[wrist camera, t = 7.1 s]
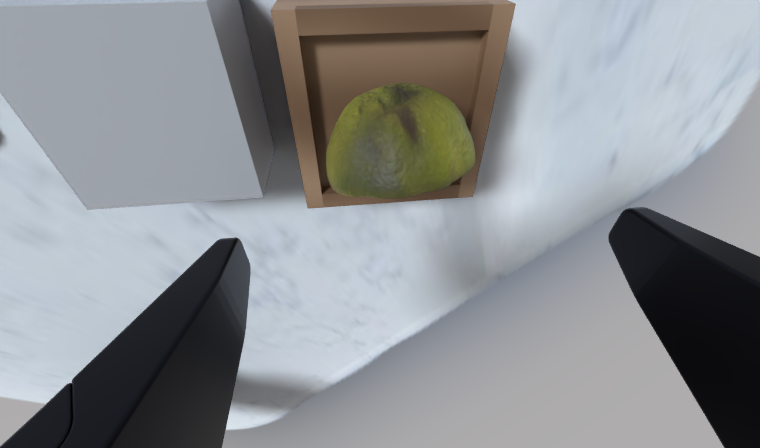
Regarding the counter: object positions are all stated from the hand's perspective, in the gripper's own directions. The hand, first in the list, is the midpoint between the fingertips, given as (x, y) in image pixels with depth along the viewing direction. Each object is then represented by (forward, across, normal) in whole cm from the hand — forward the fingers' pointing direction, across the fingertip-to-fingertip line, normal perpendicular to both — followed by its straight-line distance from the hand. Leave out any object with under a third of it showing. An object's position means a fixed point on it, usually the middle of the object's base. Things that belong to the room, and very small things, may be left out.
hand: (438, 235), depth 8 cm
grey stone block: (+10, +9, 0) cm, 14 cm away
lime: (+7, 0, 0) cm, 7 cm away
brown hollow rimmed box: (+10, 0, 0) cm, 10 cm away
